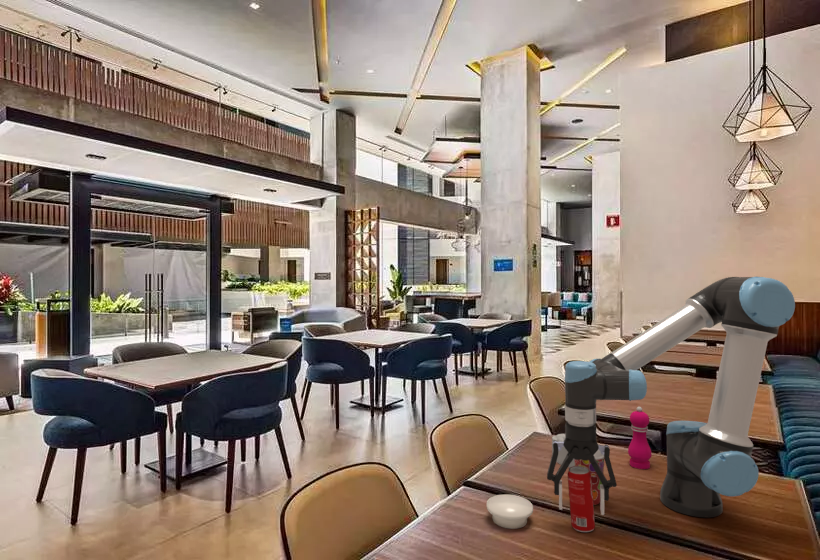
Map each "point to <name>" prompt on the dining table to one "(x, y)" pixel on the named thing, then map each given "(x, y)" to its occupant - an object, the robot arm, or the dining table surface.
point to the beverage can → (581, 499)
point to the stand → (509, 510)
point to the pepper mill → (639, 440)
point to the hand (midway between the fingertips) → (581, 509)
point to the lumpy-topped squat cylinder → (563, 451)
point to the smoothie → (594, 474)
